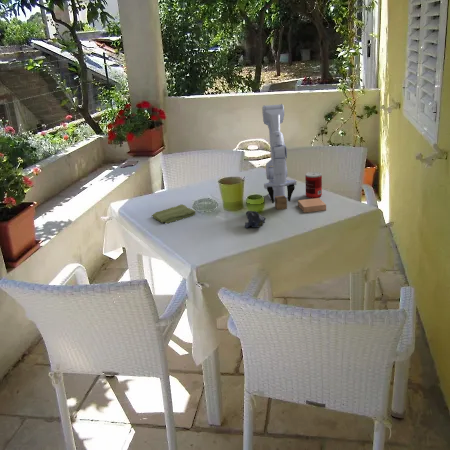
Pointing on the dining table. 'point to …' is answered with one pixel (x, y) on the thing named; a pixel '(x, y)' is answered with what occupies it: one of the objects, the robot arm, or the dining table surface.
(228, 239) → the dining table surface
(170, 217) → the washcloth
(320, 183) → the canned food
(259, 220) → the frog
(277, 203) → the walnut block
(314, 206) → the terracotta tile
